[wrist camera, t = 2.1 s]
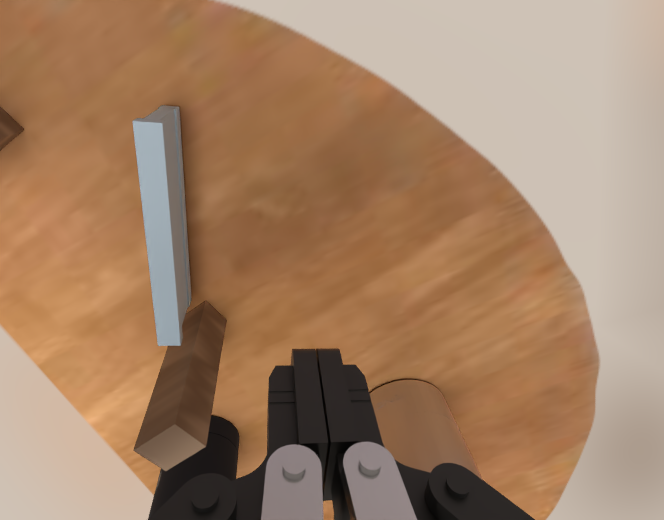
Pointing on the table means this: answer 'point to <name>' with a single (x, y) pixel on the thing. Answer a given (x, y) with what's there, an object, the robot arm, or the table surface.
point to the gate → (164, 219)
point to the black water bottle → (201, 462)
